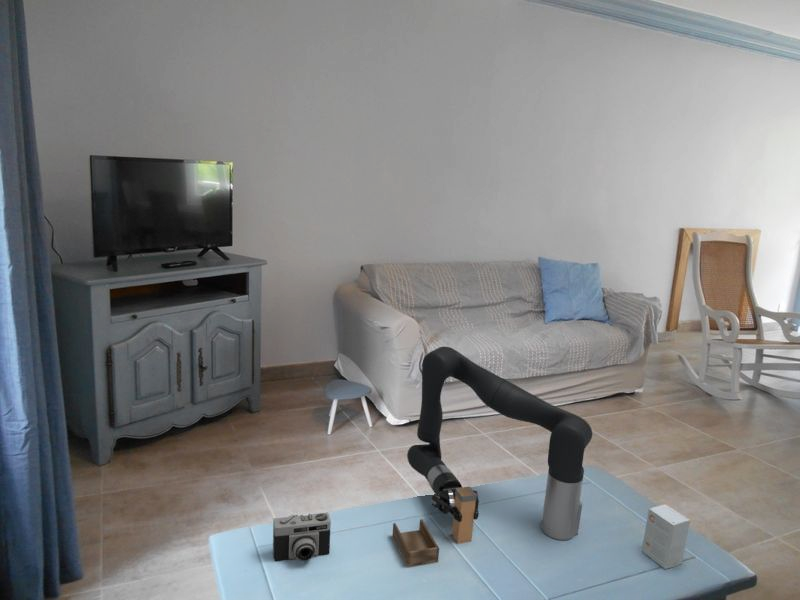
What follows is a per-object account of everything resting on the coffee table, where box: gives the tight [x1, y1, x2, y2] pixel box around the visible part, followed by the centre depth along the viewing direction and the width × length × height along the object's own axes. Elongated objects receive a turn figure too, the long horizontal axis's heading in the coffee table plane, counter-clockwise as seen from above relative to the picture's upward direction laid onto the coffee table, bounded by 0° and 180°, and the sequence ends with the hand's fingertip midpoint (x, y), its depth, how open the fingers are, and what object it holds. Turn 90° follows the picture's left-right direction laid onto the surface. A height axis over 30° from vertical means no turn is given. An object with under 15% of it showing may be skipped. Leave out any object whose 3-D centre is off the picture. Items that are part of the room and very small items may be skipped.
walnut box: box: [392, 519, 440, 568], centre depth 157 cm, size 8×13×4 cm, turn 18°
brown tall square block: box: [451, 486, 477, 544], centre depth 161 cm, size 4×4×14 cm
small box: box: [641, 503, 691, 570], centre depth 158 cm, size 8×6×13 cm
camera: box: [272, 511, 332, 562], centre depth 150 cm, size 14×8×10 cm, turn 106°
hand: (468, 517), depth 158 cm, fingers closed on brown tall square block, 4 cm apart
